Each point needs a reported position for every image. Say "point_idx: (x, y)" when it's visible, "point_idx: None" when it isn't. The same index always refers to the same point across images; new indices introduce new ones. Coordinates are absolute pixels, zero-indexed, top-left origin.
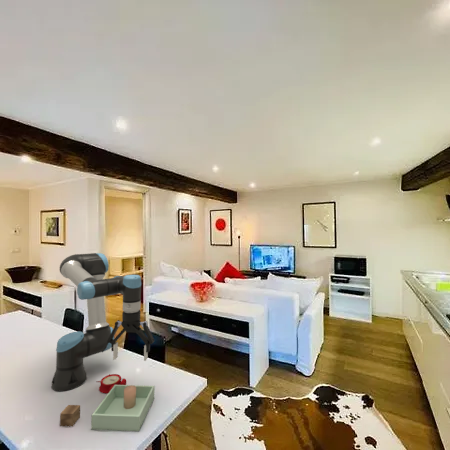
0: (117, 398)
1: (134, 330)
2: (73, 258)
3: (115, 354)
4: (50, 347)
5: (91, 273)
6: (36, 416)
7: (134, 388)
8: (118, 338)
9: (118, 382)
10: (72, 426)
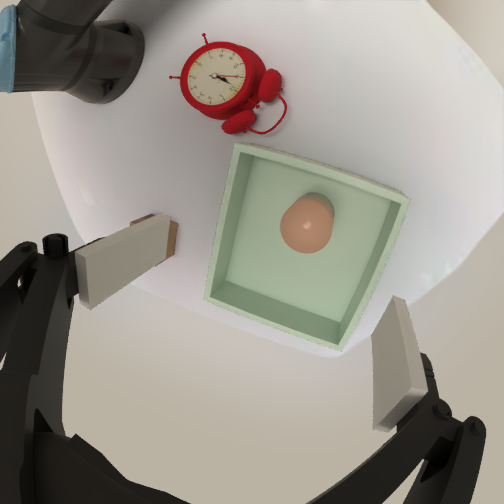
0: (264, 163)
1: None
2: None
3: (146, 264)
4: None
5: None
6: (95, 196)
7: (325, 232)
8: (61, 317)
9: (248, 92)
10: (173, 254)
